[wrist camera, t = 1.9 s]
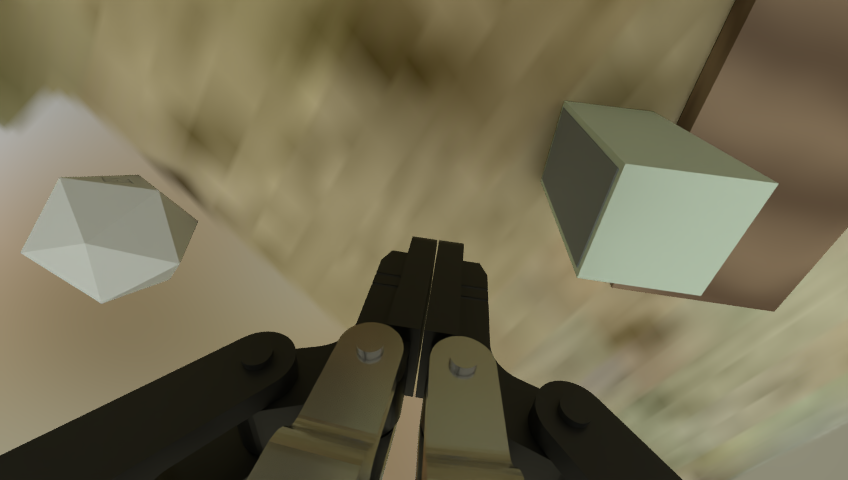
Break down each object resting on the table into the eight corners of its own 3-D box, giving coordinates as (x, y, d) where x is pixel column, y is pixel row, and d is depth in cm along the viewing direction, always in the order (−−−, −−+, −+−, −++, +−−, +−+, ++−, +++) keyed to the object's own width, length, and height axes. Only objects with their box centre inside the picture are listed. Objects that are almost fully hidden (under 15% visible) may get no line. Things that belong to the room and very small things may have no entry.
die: (188, 147, 26) (-18, 156, 19) (230, 258, 25) (34, 309, 18) (172, 191, 31) (9, 210, 25) (205, 282, 31) (50, 327, 24)
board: (749, -29, 16) (772, -32, 15) (1004, -4, 16) (1049, -5, 15) (605, 274, 26) (611, 287, 25) (759, 297, 26) (774, 311, 25)
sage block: (563, 100, 20) (623, 163, 12) (653, 111, 20) (778, 183, 12) (539, 181, 23) (575, 277, 15) (618, 191, 23) (700, 296, 15)
